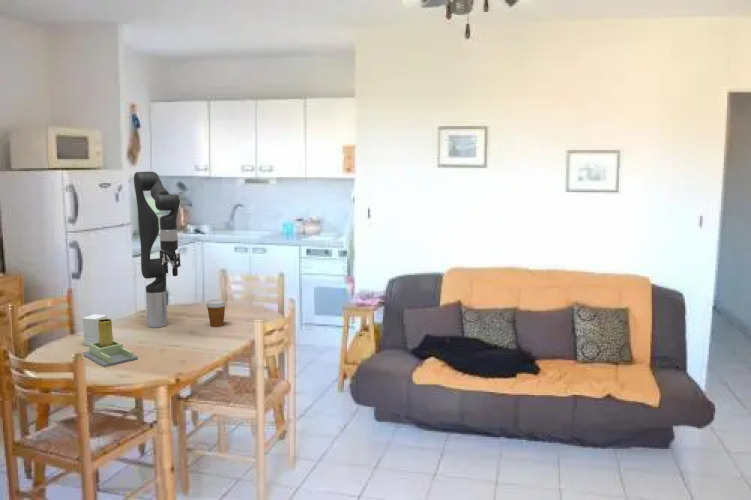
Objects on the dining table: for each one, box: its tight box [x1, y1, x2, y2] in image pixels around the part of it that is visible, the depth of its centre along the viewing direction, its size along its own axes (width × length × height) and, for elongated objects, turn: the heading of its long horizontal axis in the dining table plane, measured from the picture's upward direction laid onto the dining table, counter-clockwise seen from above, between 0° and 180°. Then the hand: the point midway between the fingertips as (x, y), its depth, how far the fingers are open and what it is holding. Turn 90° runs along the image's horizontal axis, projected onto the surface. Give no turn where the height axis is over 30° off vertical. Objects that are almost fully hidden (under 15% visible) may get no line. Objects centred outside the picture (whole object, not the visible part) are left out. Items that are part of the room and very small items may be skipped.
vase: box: [98, 318, 114, 348], centre depth 278 cm, size 6×6×14 cm
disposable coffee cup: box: [206, 299, 227, 328], centre depth 325 cm, size 10×10×12 cm
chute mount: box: [81, 339, 139, 368], centre depth 276 cm, size 22×14×5 cm, turn 46°
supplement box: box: [82, 313, 108, 347], centre depth 294 cm, size 7×7×13 cm
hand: (170, 274), depth 298 cm, fingers open, 8 cm apart
